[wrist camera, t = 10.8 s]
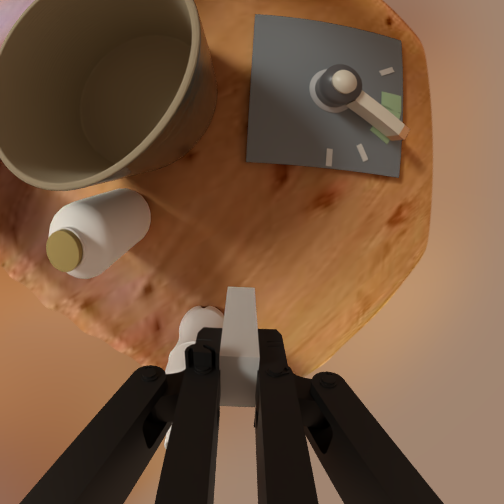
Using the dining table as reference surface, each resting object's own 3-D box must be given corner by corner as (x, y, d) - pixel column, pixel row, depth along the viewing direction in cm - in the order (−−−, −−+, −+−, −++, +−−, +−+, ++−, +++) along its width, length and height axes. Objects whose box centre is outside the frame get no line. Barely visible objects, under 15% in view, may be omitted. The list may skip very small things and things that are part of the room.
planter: (76, 179, 40) (-15, 199, 21) (83, 44, 34) (7, 1, 15) (218, 173, 41) (195, 185, 22) (224, 25, 34) (210, -57, 15)
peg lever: (308, 93, 36) (317, 84, 31) (326, 66, 35) (337, 54, 30) (385, 149, 39) (403, 149, 33) (401, 122, 37) (420, 119, 32)
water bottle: (189, 293, 46) (146, 415, 22) (235, 307, 47) (228, 437, 23) (179, 331, 48) (139, 455, 24) (221, 344, 49) (209, 473, 25)
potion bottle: (156, 191, 41) (100, 214, 24) (149, 247, 44) (98, 301, 26) (104, 184, 41) (30, 203, 23) (100, 238, 43) (32, 282, 26)
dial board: (255, 17, 34) (255, 13, 33) (397, 43, 35) (401, 40, 34) (246, 161, 40) (246, 161, 39) (395, 177, 41) (399, 177, 40)
